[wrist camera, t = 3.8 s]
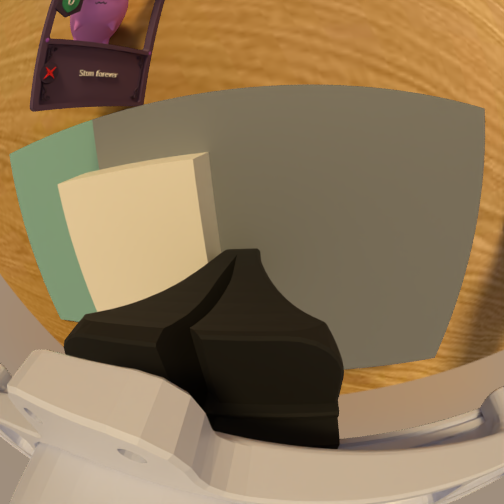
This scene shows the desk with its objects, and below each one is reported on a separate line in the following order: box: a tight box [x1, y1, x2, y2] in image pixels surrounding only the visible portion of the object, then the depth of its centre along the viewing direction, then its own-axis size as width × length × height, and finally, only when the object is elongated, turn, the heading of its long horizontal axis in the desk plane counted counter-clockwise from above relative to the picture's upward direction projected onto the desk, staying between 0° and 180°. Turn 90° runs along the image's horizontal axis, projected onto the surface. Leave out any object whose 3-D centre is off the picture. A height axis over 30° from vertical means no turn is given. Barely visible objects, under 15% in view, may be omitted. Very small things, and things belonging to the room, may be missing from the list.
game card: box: [30, 0, 165, 111], centre depth 9 cm, size 7×5×9 cm
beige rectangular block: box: [57, 152, 221, 312], centre depth 12 cm, size 6×9×2 cm, turn 4°
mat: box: [10, 120, 99, 322], centre depth 17 cm, size 11×15×1 cm
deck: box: [92, 85, 485, 369], centre depth 14 cm, size 17×14×4 cm
